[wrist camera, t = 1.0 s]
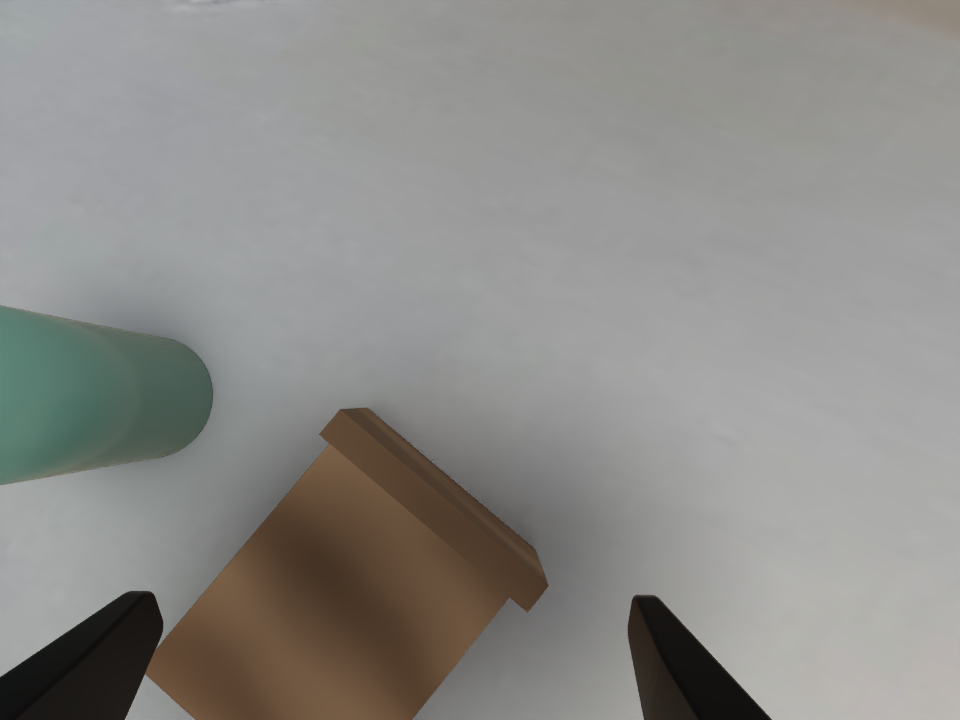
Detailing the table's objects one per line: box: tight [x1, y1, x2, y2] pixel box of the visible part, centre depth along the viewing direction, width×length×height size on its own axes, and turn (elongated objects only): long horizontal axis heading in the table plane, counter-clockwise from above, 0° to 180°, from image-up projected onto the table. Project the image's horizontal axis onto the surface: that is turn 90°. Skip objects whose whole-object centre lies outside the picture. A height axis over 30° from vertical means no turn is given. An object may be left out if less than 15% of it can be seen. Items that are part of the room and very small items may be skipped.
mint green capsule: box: [0, 305, 213, 485], centre depth 16 cm, size 6×6×14 cm
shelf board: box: [145, 408, 548, 720], centre depth 20 cm, size 14×10×4 cm
